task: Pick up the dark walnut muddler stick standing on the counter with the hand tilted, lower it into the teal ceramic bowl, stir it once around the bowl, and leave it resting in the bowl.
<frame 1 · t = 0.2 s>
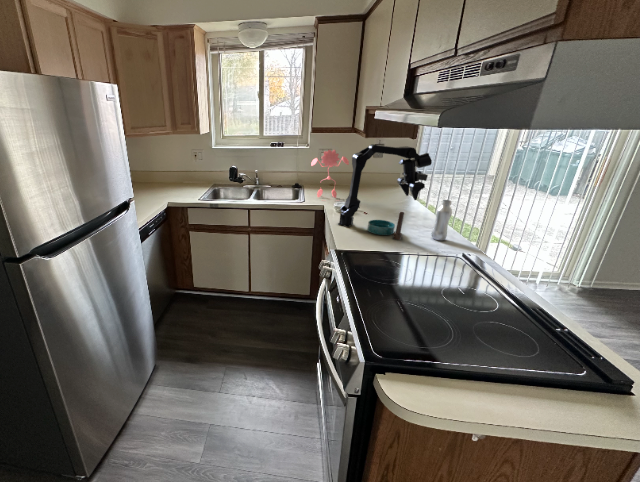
hand: (411, 197, 175), 15 cm above the worktop, tool pointing down, fingers open, 9 cm apart
bowl: (380, 231, 171), on the worktop
plastic bottle: (437, 239, 160), on the worktop
figurine: (326, 199, 234), on the worktop
muddler: (396, 238, 161), on the worktop
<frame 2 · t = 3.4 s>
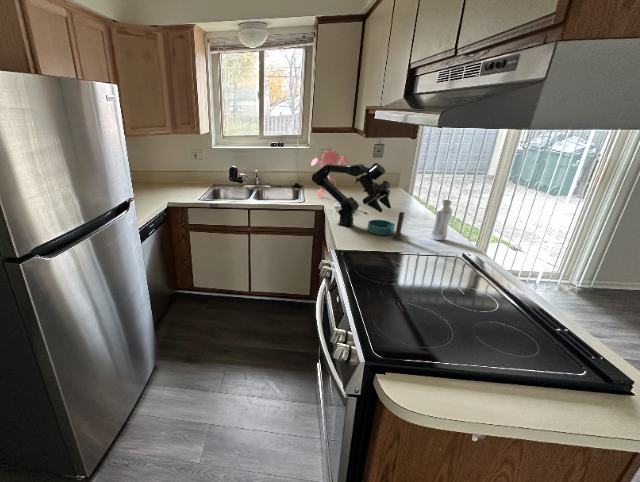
hand: (386, 210, 162), 13 cm above the worktop, tool tilted 45°, fingers open, 9 cm apart
nothing on the worktop moved.
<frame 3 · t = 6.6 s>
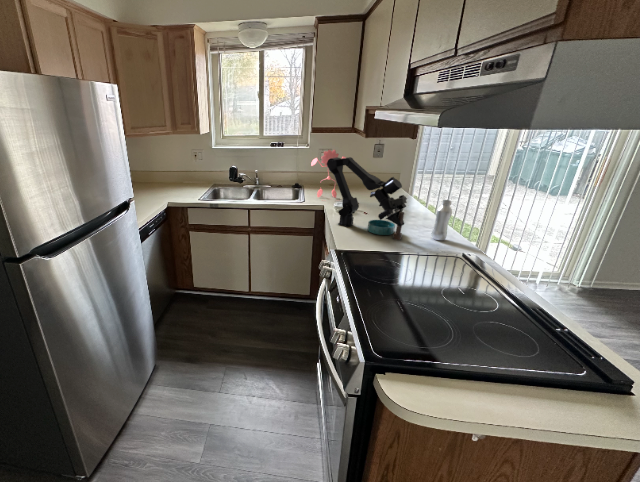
hand: (402, 225, 157), 8 cm above the worktop, tool tilted 45°, fingers closed on muddler, 2 cm apart
muddler: (396, 238, 161), on the worktop, touching gripper
everything else where it was.
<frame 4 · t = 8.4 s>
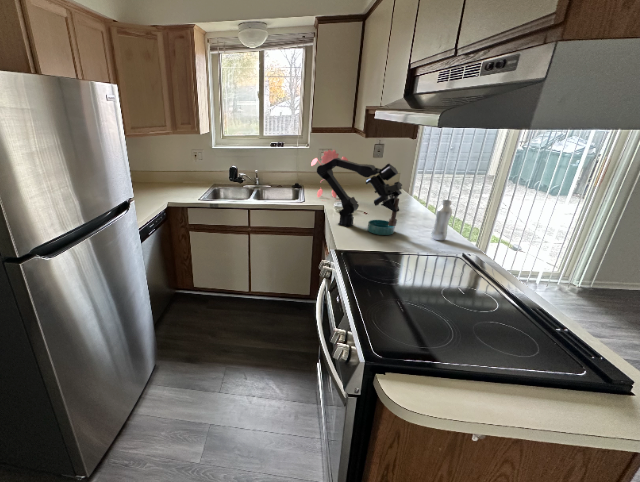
hand: (397, 211, 159), 13 cm above the worktop, tool tilted 45°, fingers closed on muddler, 2 cm apart
muddler: (392, 225, 163), point 6 cm above the worktop, touching gripper
everything else where it was.
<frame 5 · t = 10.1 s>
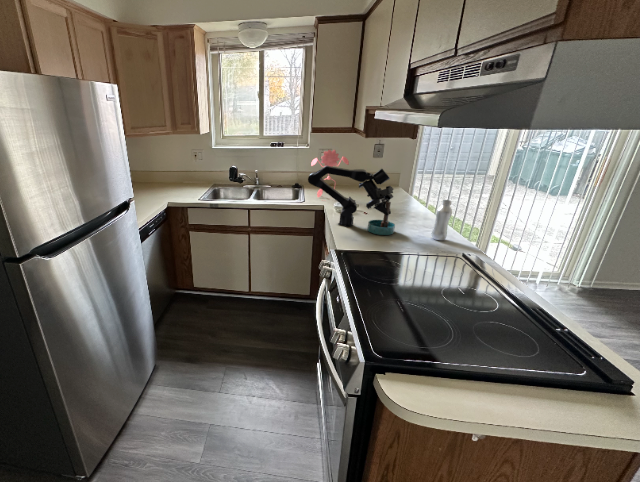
hand: (389, 214, 166), 10 cm above the worktop, tool tilted 45°, fingers closed on muddler, 2 cm apart
muddler: (384, 227, 170), point 2 cm above the worktop, touching gripper
everything else where it was.
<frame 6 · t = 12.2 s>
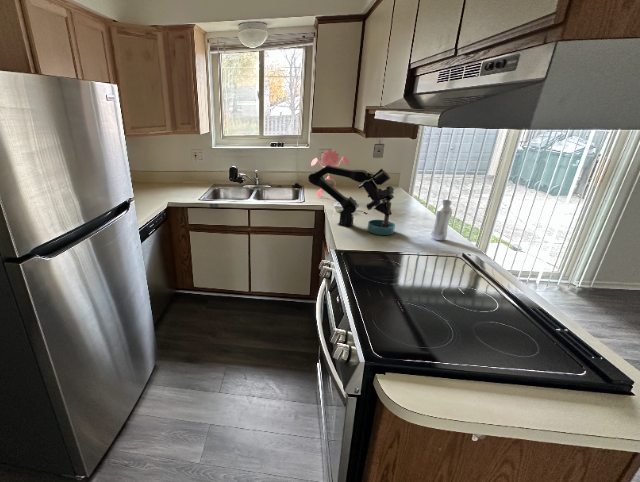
hand: (389, 215, 164), 10 cm above the worktop, tool tilted 45°, fingers closed on muddler, 2 cm apart
muddler: (384, 228, 168), point 3 cm above the worktop, touching gripper
everything else where it was.
when the fingers open (8 cm above the worktop, at t = 13.6 s): muddler stays where it is, resting on bowl.
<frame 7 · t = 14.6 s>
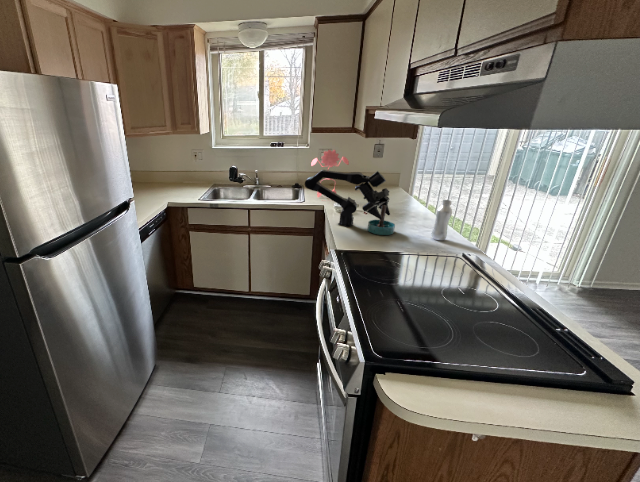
hand: (385, 216, 167), 9 cm above the worktop, tool tilted 45°, fingers open, 9 cm apart
muddler: (380, 230, 171), resting on bowl
everything else where it was.
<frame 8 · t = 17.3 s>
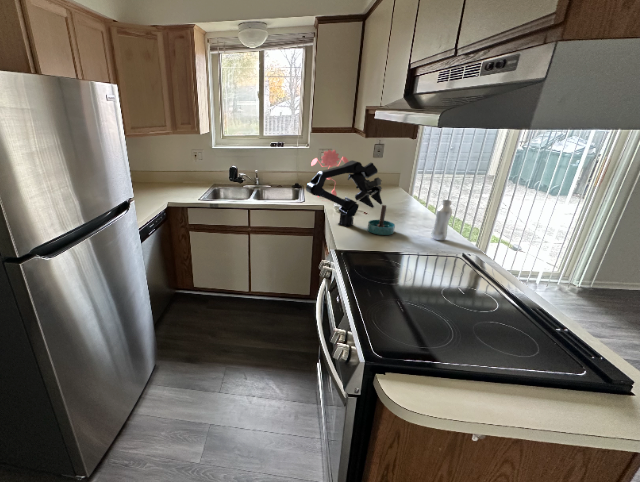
hand: (377, 205, 168), 14 cm above the worktop, tool tilted 45°, fingers open, 9 cm apart
nothing on the worktop moved.
at the end: muddler inside the target area in the bowl (0.1 cm from its centre), point 0.5 cm above the bowl's base; the gripper is holding nothing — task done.
